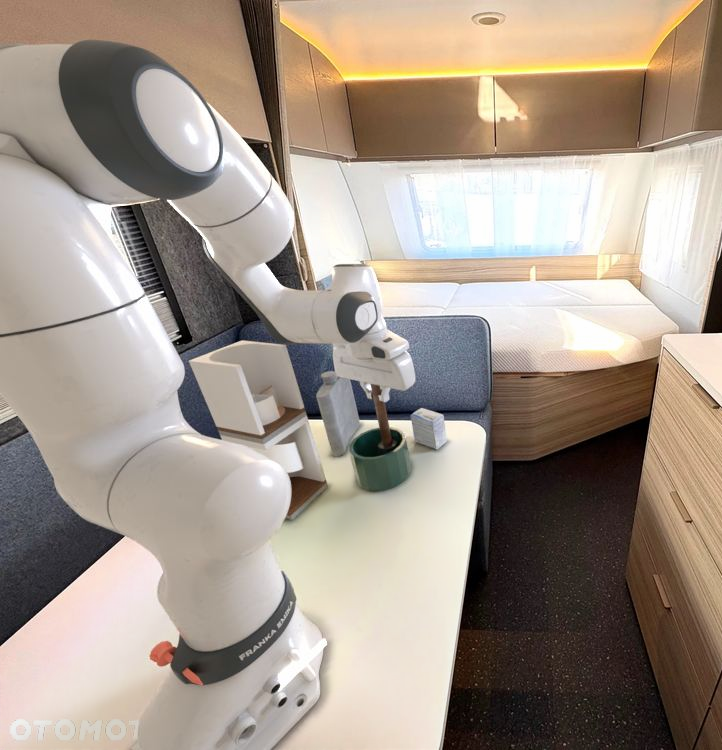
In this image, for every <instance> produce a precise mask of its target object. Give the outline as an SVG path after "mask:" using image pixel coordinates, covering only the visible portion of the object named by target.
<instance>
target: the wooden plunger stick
mask: <svg viewBox="0 0 722 750" xmlns="http://www.w3.org/2000/svg"><path fill="white" fill-rule="evenodd" d="M370 385H371V390H372V394H373V399H372V400H373V404H374V407H375V413H376V418H377V424H378V428H380V433H381V438H382V441H380V442H379V444H378V447H379V452H380V456H381V455H385V454H387V453H389V452H391V451H394V450H395V449H396V448H397V447H398V444H397V440H396V439H394V438H391V433H390V428H389V427H390V423H389V417H388V413H387V408H386V402H382V401H379V397H378V395H379V394H381V393H382V389H380V386H379V385H374V384H370Z"/></svg>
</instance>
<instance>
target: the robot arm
mask: <svg viewBox="0 0 722 750" xmlns="http://www.w3.org/2000/svg"><path fill="white" fill-rule="evenodd" d="M158 200H164V201H167V202H168V203H169V204H170V206H172V207H173V208H174V209H175V211H177V212H178V213H179V214H180V215H181V216H182V217H183V218H184V219H185V220H186V221H187V222H188V223H189V224H190V225H191V226H192V227H193V228H194V229H195V230H196V231H197V232H198V233H199V234H200V235H201V237H202V238H201V243H202V247H203V250H204V253H205V254H206V257H207V258H208V260H209V261H210V262H211V264H212V265H213V266H214V268H215V269H216V270H217V271H218V272H219V273H220V275H221V276H222V277H223V278H224V279H225V280H226V281H227V282H228V284H229V285H230V286H231V287H232V288H233V289H234V290H235V291H236V292H237V293H238V295H240V297H241V298H242V300H244V301H245V302H246V303H247V304H248V306H250V308H251V309H252V310H253V311H254V313H255V314H256V315H257V316H258V318H259V320H260V321H261V323H262V325H263V327H264V329H265V330H266V332H267V333H268V334H269V336H270V337H271V338H272V339H273V340H275V341H276V342H277V343H278V344H282V345H286V346H290V345H292V346H293V345H304V344H325V345H326V344H327V345H329V344H330V345H331V344H332V349H333V350H332V362H333V367H334V372H336V374H337V375H338V376H339V377H342V378H347V379H350V381H351V380H353V381H356V382H359V385H360V387H361V388H362V389H363V391H364V392H365V395H366V398H367V399H369V400H374V399H373V394H372V390H371V385H370V384H374V385H379V386H380V389H382V393H381V394H379V395H378V397H379V401H382V402H385V403H387V402H388V401H390V392H391V389H393V390H398V391H403V392H404V391H407V390H408V389H410V388H411V387H413V386H414V384H415V383H416V372H415V366H414V362H413V359H412V356H411V355H410V353H409V352H408V350H409V349H410V343H409V341H408V340H407V339H405V338H403V337H401V336H400V335H398V334H395V333H394V332H393V331H391V330H390V329H388V327H387V323H386V321H385V318H384V315H383V308H384V304H383V299H382V294H381V290H380V286H379V282H378V279H377V276H376V273H375V271H374V269H373V267H372V266H370V265H368V264H366V263H338V264H334V265H333V266H331V282H330V284H329V285H328V286H327V287H326V288H325V289H321V290H319V289H318V290H317V289H315V290H314V289H313V290H311V289H310V290H309V289H307V290H306V289H305V290H304V289H303V290H302V289H301V290H300V289H294V288H290V287H287V286H284V285H282V284H281V283H280V282H279V281H278V279H277V278H276V277H275V274H273V272H272V271H271V269H270V268H269V267H268V266H267V264H266V263H268V262H270V261H271V260H273V259H274V258H276V257H277V256H278V255H280V253H282V251H283V250H284V249H285V248H286V246H287V245H288V243H289V241H290V240H291V238H292V234H293V231H294V225H295V217H294V211H293V208H292V205H291V203H290V201H289V199H288V197H287V195H286V194H285V192H284V191H283V188H282V187H281V185H280V184H279V183H278V182H277V180H275V177H273V176H272V174H271V173H270V171H269V170H268V169H267V167H266V166H265V165H264V163H263V162H262V161H261V159H260V158H259V157H258V156H257V154H256V153H255V152H254V151H253V149H252V148H251V147H250V146H249V145H248V143H246V141H245V140H244V139H243V137H242V136H240V134H239V133H238V132H237V130H235V128H233V126H232V125H231V124H230V123H229V122H228V121H227V120H226V119H225V118H224V117H223V116H222V115H221V113H219V112H218V111H217V110H216V109H215V108H214V107H213V106H212V105H211V104H210V103H209V102H208V101H207V100H206V99H205V98H204V96H203V94H202V93H200V91H199V90H198V89H197V87H195V85H193V83H191V81H190V80H188V78H186V77H185V76H184V75H183V74H182V73H181V72H180V71H179V70H178V69H177V68H176V67H174V66H173V65H171V64H170V63H169V62H168V61H167V60H165V59H163V58H162V57H161V56H159V55H157V54H156V53H154V52H152V51H150V50H148V49H146V48H142V47H139V46H135V45H133V44H128V43H123V42H117V41H110V40H100V39H84V40H80V41H78V42H75V43H44V44H41V43H40V44H26V43H18V42H17V43H15V42H11V43H2V44H0V396H1V398H2V399H3V400H4V401H5V402H6V403H7V405H8V406H9V408H10V409H11V410H12V411H13V412H14V413H15V414H16V416H17V417H18V418H19V420H20V421H21V422H22V423H23V425H24V426H25V428H26V430H27V431H28V432H29V434H30V436H31V438H32V439H33V441H34V443H35V445H36V446H37V449H38V451H39V453H40V455H41V457H42V459H43V461H44V463H45V465H46V467H47V469H48V470H49V472H50V475H51V476H52V478H53V484H54V488H55V489H56V492H57V494H58V495H59V497H60V498H61V499H62V500H63V501H64V502H65V503H66V504H67V505H68V506H69V507H70V508H71V510H73V511H74V512H75V513H76V514H77V515H78V516H80V518H82V519H83V520H84V521H86V522H89V523H91V524H93V525H96V526H99V527H101V528H103V529H107V530H109V531H112V532H114V533H117V534H119V535H121V536H124V537H126V538H127V539H130V540H132V541H133V542H136V543H137V544H139V546H141V547H143V548H144V549H146V551H148V552H149V553H150V554H151V555H153V557H154V558H155V559H156V560H157V561H158V563H159V565H160V567H161V569H162V572H163V573H161V576H160V578H159V581H158V584H157V588H156V596H157V601H158V602H159V604H160V605H161V608H162V609H163V610H164V612H165V613H166V615H167V616H168V618H169V620H170V621H171V623H172V624H173V626H174V627H175V628H176V630H177V632H178V633H179V636H178V643H177V646H173V644H172V642H170V641H169V640H162V641H160V642H159V643H157V644H156V645H155V646H154V647H153V648H152V649H151V651H150V654H149V659H150V660H151V661H152V662H154V663H156V665H157V667H160V668H162V667H165V666H166V667H167V665H169V667H170V670H169V672H168V674H167V675H166V676H165V678H164V680H163V681H162V683H161V685H160V686H159V687H158V689H157V691H156V693H155V694H154V695H153V697H152V698H151V700H150V702H149V703H148V705H147V706H146V708H145V709H144V710H143V712H142V714H141V716H140V717H139V722H138V725H137V741H136V742H135V743H134V745H133V746H132V747H131V749H130V750H272V749H273V748H274V747H275V746H276V745H277V744H278V743H279V742H280V741H281V740H282V739H283V738H284V737H285V736H286V735H287V734H288V732H289V731H291V729H292V728H294V726H295V725H296V724H297V723H298V722H299V721H300V720H301V719H302V718H303V717H304V716H305V715H306V714H307V713H308V712H309V711H310V710H311V709H313V707H314V706H315V705H316V703H317V702H318V701H319V699H320V696H321V682H320V677H319V676H320V669H321V665H322V662H323V657H324V649H325V647H326V646H327V645H328V643H327V640H326V639H325V638H323V634H322V631H321V630H320V628H319V627H318V626H317V625H316V624H315V623H314V621H313V622H312V621H311V620H310V619H308V617H307V616H306V615H305V614H304V613H303V611H302V610H301V609H300V607H299V605H298V604H297V596H296V593H295V589H294V586H293V584H292V582H291V580H290V579H289V577H288V575H287V574H286V573H285V571H283V570H282V569H281V568H280V567H281V566H280V565H279V563H278V560H277V557H276V554H275V552H274V550H273V547H272V543H271V539H272V538H273V536H275V535H276V534H277V532H278V531H279V529H280V528H281V526H282V525H283V523H284V521H285V519H286V518H285V517H286V515H287V513H288V510H289V507H290V502H291V493H292V489H291V481H290V478H289V476H288V474H287V472H286V470H285V469H284V468H283V467H282V466H281V465H279V464H278V463H276V462H274V461H273V460H271V459H270V458H268V457H266V456H265V455H263V454H261V453H259V452H257V451H255V450H253V449H252V448H249V447H247V446H245V445H240V444H236V443H232V442H228V441H224V440H222V439H219V438H216V437H215V438H214V437H211V436H207V435H204V434H201V433H200V432H199V431H197V430H195V429H194V428H193V427H192V426H191V425H190V424H189V423H188V421H187V420H186V419H185V417H184V414H183V412H182V410H181V406H180V402H179V394H178V390H179V389H180V387H182V384H183V382H184V379H185V375H186V371H185V365H184V362H183V361H182V359H181V357H180V354H179V353H178V351H177V350H176V347H175V345H174V344H173V342H172V340H171V338H170V337H169V334H168V332H167V331H166V328H165V327H164V325H163V323H162V321H161V319H160V318H159V316H158V314H157V312H156V310H155V308H154V306H153V304H152V303H151V301H150V299H149V296H148V295H147V293H146V292H145V290H144V288H143V286H142V285H141V283H140V281H139V279H138V278H137V275H136V274H135V272H134V270H133V268H132V267H131V266H130V264H129V263H128V261H127V260H126V258H125V256H124V254H123V253H122V251H121V250H120V249H119V247H118V246H117V244H116V243H115V238H114V236H113V229H112V208H113V207H120V206H121V207H122V206H131V205H135V204H137V205H138V204H144V203H150V202H154V201H158ZM300 704H301V705H300Z"/></svg>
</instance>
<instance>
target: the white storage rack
mask: <svg viewBox="0 0 722 750" xmlns="http://www.w3.org/2000/svg"><path fill="white" fill-rule="evenodd" d="M188 362H189V365H190V367H191V370H192V373H193V374H194V377H195V380H196V382H197V384H198V386H199V390H200V391H201V393H202V396H203V398H204V400H205V403H206V406H207V408H208V410H209V412H210V415H211V417H212V419H213V422H214V424H215V427H216V429H217V432H218V433H219V436H220V438H221V439H220V440H224V441H228V442H232V443H236V444H240V445H245V446H247V447H249V448H252V449H253V450H255V451H257V452H259V453H261V454H263V455H265V456H266V457H268V458H270V459H271V460H273V461H274V462H276V463H278V464H279V465H281V466H282V467H283V468H284V469H285V470H286V472H287V474H288V476H289V478H290V481H291V489H292V493H291V502H290V507H289V510H288V513H287V515H286V517H285V519H286V520H289V521H293V520H294V519H295V518H297V516H298V515H299V514H301V513H302V511H304V509H306V508H307V507H308V506H309V505H310V504H311V503H312V502H313V501H314V500H315V499H316V498H318V496H320V494H322V493H323V492H324V491H325V490H326V489H327V488H328V482H327V479H326V475H325V471H324V469H323V465H322V462H321V458H320V455H319V452H318V448H317V445H316V441H315V439H314V434H313V431H312V428H311V425H310V421H309V417H308V415H307V411H306V407H305V405H304V401H303V398H302V395H301V391H300V388H299V384H298V381H297V379H296V378H297V377H296V374H295V370H294V368H293V365H292V361H291V357H290V354H289V351H288V348H287V345H285V344H282V343H270V342H262V341H261V342H260V341H251V340H240V341H239V340H238V341H237V342H234V343H232V344H228V345H226V346H224V347H221V348H218V349H215V350H213V351H211V352H208V353H206V354H203V355H200V356H197V357H195V358H192V359H190V360H188Z"/></svg>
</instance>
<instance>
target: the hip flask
mask: <svg viewBox="0 0 722 750" xmlns="http://www.w3.org/2000/svg"><path fill="white" fill-rule="evenodd" d="M320 378H321V379H322V381H323V383H322V385H321V386H320V387H319V388H318V391H317V393H316V395H315V396H316V400H317V405H318V408H319V411H320V415H321V419H322V422H323V426H324V429H325V434H326V437H327V441H328V444H329V448H330V451H331V455H332V456H333V457H341V456H343V455H344V454H345V453H346V449H347V447H348V445H349V442H350V441H351V438H352V437H353V435H354V434H355V433H356V431H357V430H358V429H359V428H360V427H361V423H360V422H361V421H360V417H359V412H358V407H357V404H356V399H355V395H354V390H353V387H352V386H353V385H352V382H351V379H347V378H342V377H339V376H338V375H337V374H336V372H335V370H334V371H333V370H329V371H325V372H323V373H321V374H320Z"/></svg>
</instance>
